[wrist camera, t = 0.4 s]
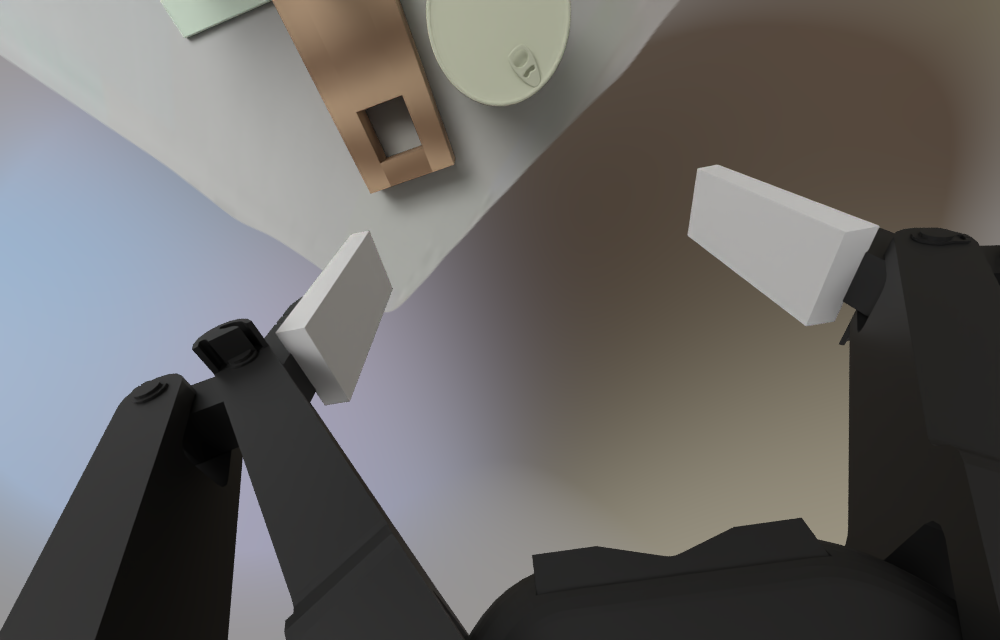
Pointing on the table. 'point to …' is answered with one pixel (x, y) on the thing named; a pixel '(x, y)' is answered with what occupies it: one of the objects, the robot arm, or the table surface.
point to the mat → (205, 13)
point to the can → (498, 45)
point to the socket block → (368, 81)
